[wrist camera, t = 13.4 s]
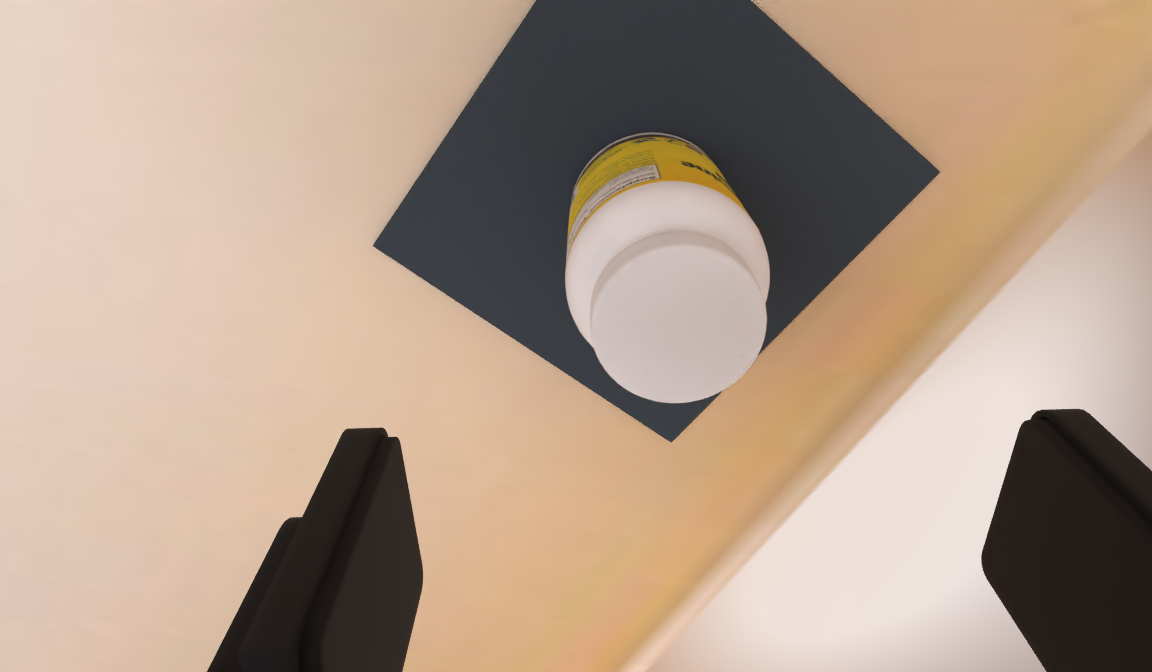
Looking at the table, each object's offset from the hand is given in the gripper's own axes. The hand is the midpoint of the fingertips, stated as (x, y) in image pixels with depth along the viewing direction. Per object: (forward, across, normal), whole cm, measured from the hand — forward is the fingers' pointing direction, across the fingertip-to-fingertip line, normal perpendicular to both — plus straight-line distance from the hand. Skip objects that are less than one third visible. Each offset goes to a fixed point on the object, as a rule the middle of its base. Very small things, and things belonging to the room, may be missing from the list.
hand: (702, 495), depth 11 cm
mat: (+20, -1, +2) cm, 20 cm away
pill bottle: (+20, -1, +2) cm, 20 cm away
